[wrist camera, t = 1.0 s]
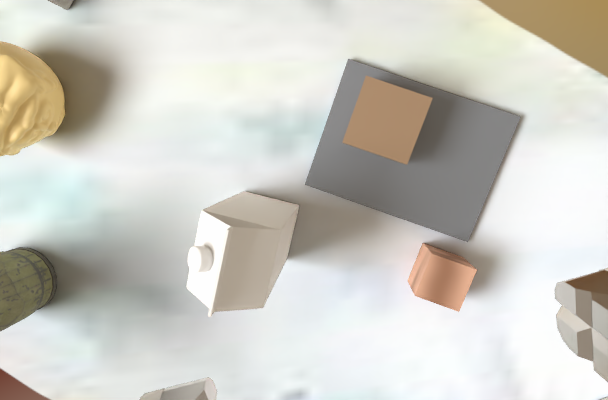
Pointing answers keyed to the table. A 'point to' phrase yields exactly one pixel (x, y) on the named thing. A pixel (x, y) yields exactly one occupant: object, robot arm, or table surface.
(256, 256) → the milk carton
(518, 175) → the table surface
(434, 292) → the top block
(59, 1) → the coffee box
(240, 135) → the table surface
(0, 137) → the sculpture
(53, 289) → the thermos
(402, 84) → the building board
